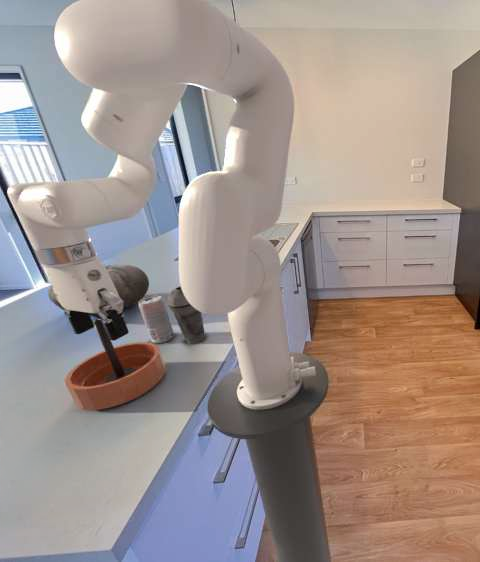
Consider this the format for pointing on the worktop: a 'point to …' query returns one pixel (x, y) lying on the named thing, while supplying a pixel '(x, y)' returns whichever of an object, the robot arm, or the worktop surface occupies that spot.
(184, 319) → the beverage cup
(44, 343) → the worktop surface
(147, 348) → the bowl
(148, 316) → the energy drink
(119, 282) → the gourd
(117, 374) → the grey disc stick
